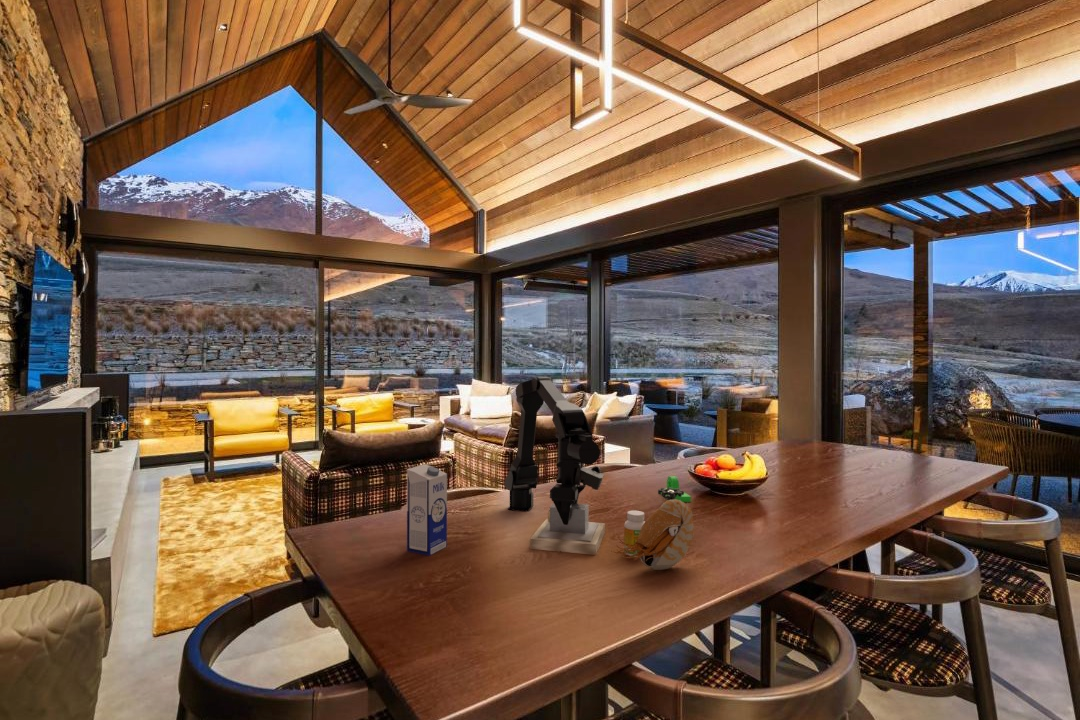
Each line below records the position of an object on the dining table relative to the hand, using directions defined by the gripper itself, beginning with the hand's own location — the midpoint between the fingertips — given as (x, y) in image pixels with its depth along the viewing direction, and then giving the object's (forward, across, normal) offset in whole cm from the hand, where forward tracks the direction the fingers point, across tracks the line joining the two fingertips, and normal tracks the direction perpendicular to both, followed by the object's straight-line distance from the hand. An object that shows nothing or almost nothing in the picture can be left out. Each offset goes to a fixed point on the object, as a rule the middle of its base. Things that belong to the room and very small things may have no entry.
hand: (569, 519), depth 138 cm
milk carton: (+6, -15, +32) cm, 36 cm away
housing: (+3, 0, 0) cm, 3 cm away
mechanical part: (+6, +51, -26) cm, 57 cm away
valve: (+6, +10, -25) cm, 28 cm away
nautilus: (+6, -15, -22) cm, 27 cm away
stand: (+6, 0, 0) cm, 6 cm away
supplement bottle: (+6, -5, -17) cm, 19 cm away
